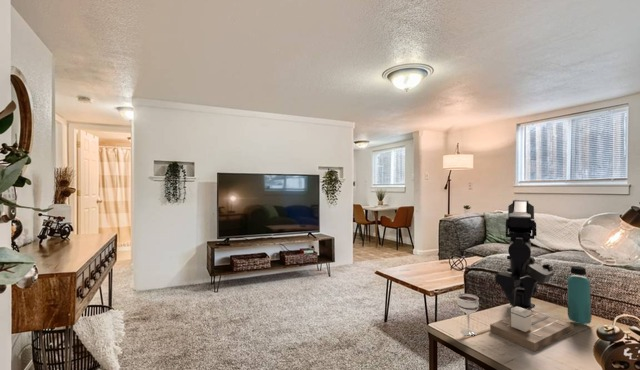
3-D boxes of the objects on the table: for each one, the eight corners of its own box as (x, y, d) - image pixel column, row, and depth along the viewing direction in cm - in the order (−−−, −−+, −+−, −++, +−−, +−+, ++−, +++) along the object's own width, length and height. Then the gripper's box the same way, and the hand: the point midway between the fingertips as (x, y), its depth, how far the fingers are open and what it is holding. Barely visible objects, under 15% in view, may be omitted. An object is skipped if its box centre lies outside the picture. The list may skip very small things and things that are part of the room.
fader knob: (517, 323, 106) (516, 306, 106) (531, 329, 102) (531, 310, 102) (510, 326, 104) (510, 308, 104) (525, 332, 100) (525, 313, 100)
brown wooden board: (528, 315, 117) (528, 308, 117) (573, 331, 105) (573, 323, 105) (490, 331, 107) (490, 324, 106) (534, 351, 94) (534, 342, 94)
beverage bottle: (596, 329, 106) (595, 270, 105) (573, 327, 107) (573, 269, 107) (584, 320, 112) (583, 264, 112) (563, 319, 114) (562, 264, 113)
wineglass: (484, 333, 105) (483, 298, 105) (471, 339, 102) (471, 302, 102) (465, 325, 111) (464, 292, 111) (453, 331, 108) (452, 296, 107)
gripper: (530, 264, 91) (530, 317, 91) (563, 254, 100) (564, 303, 100) (493, 256, 101) (493, 304, 101) (526, 247, 109) (527, 292, 110)
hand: (520, 301), depth 103 cm, fingers open, 9 cm apart
